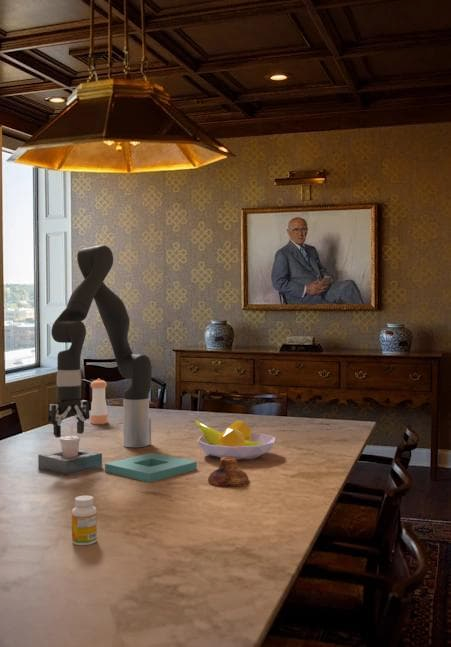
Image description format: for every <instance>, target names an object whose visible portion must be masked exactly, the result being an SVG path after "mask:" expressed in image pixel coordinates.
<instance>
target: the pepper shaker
mask: <svg viewBox="0 0 451 647" xmlns="http://www.w3.org/2000/svg"><path fill="white" fill-rule="evenodd" d="M107 386H108V384H107V382H106V381H105V380H104V379H100V378H97V379H96V380H93V381H91V383H90V388H91V390H92V394H91V396H92V399H91V400H92V401H91V404H90V405H91V406H90V409H91V410H90V411H91V413H90V424H91V423H92V425H105V424H108V422H109V419H108V416H109V415H108V413H107V412H108V410H107V409H108V407H107V406H108V404H107V400H106V388H107Z"/></svg>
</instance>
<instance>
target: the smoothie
mask: <svg viewBox="0 0 451 647" xmlns="http://www.w3.org/2000/svg"><path fill="white" fill-rule="evenodd" d="M80 441H81V437H80V436H78V435H73V423H71V424H70V435H66V436H61V437H59V442H60V445H61V447H60V448H61V450H62V454H63V457H66V458H70V457H74V456H78V449H79V448H80Z"/></svg>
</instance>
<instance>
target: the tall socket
mask: <svg viewBox="0 0 451 647" xmlns="http://www.w3.org/2000/svg"><path fill="white" fill-rule="evenodd" d="M37 457H38V458H37V459H38V460H37V464H38V466H37V467H38V470H42V471H46V472H50V473H53V474H57V475H60V474H61V475H62V476H65V477H66V476H72V475H75V474H80V473H83V472H87V471H88V472H89V471H93V470H97V468H98V469H101V468H103V453H102V452H97V451H92V450H89V449H84V448H80V447H79V449H78V456H74V457H70V458H66V457H63V454H62V449H60V450H54V451H49V452H45V453H44V452H43V453H39V454H38V456H37ZM71 474H72V475H71Z"/></svg>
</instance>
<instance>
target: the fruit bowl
mask: <svg viewBox="0 0 451 647" xmlns="http://www.w3.org/2000/svg"><path fill="white" fill-rule="evenodd" d="M194 422H195V424H196V425H197V426H198V429H199V431H200V433H201V436H200V437H198V439H197V443H198V445H199V446H200V447H201V449H202V451H204V452H205V454H208V455H210V456H214V457H217V458H219V459H221V458H222V457H228V459H232V458H235V459H236V460H237V461H239V460H241V461H242V460H243V461H244V460H254V459H256V458H257V457H260V456H262V455H264V454H266V453H268V452H271V450H272V448H273V446H274V443H275V440H276V437H275V436H272V435H269V434H265V433H262V432H261V433H260V432H252V429H251V427H249V425H247V424H246V423H245V422H244V421H241V420H235V421H234V422H232V423H231V424H230V425H229V426H227V427H226V428H225V430H223V431H222V432H221V431H219V430H216V429H213V428H212V427H209V426H207V425H205V424H203V423H201V422H200V421H199V420H197V419H196V420H195V421H194Z"/></svg>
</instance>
